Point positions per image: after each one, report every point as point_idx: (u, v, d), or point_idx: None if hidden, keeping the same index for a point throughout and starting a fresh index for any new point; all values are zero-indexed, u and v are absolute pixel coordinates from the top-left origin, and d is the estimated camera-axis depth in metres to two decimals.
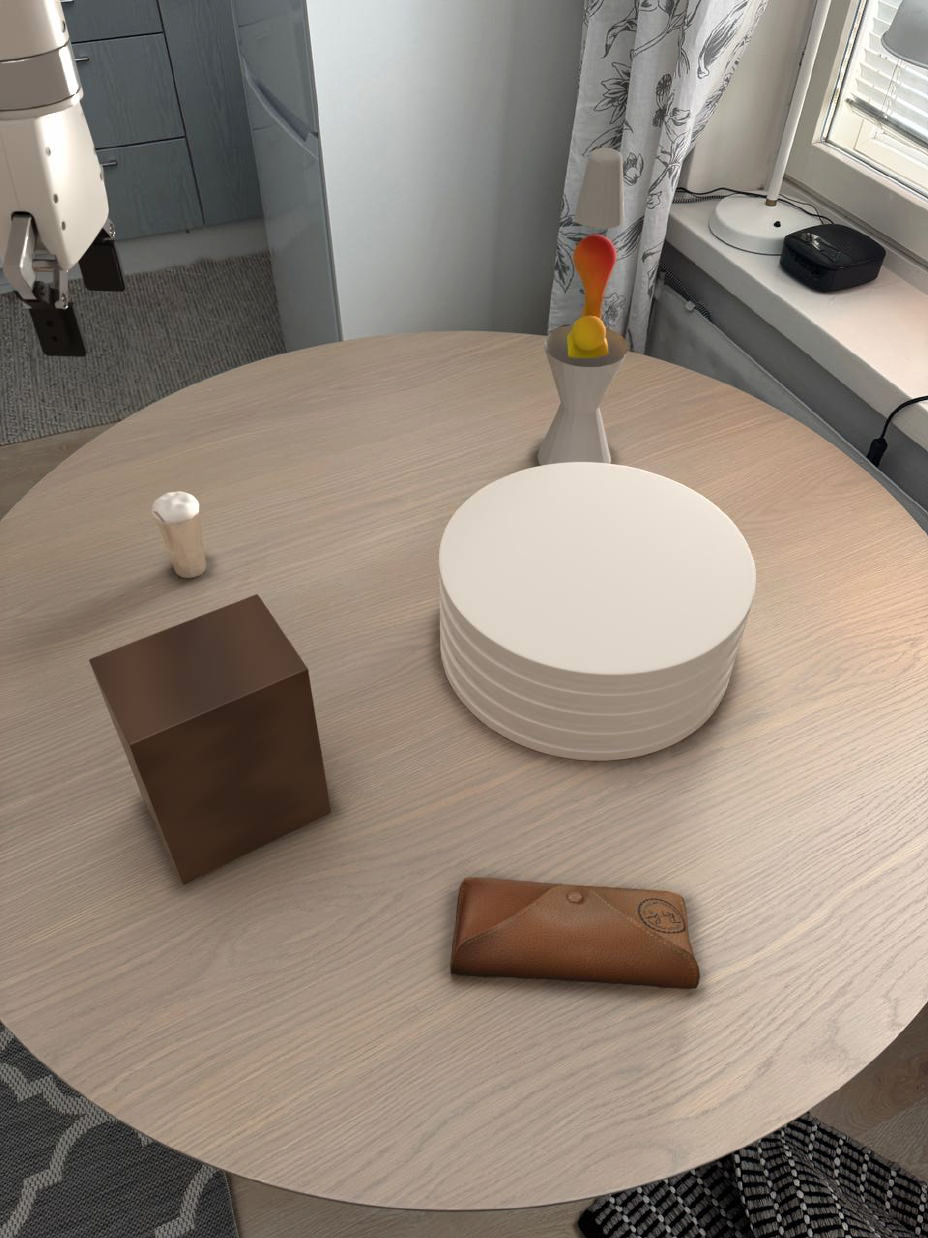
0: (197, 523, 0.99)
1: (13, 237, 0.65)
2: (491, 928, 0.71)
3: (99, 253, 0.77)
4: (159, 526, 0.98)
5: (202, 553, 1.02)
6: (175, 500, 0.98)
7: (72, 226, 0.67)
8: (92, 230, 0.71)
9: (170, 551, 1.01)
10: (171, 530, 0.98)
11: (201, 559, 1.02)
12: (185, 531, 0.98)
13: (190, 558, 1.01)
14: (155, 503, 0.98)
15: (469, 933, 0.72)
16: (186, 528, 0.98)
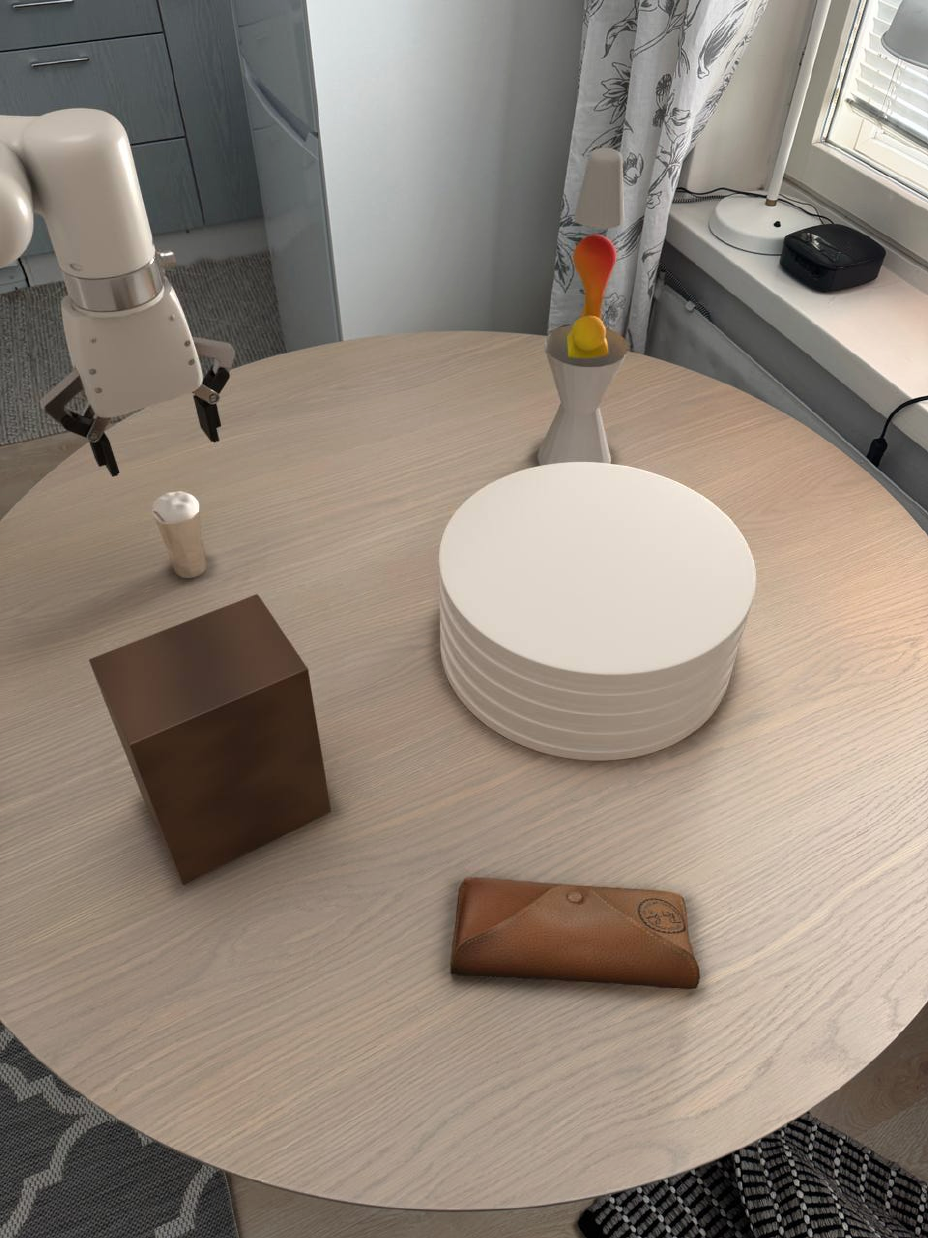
0: (197, 523, 0.99)
1: (61, 383, 0.84)
2: (491, 928, 0.71)
3: (201, 409, 0.92)
4: (159, 526, 0.98)
5: (202, 553, 1.02)
6: (175, 500, 0.98)
7: (112, 392, 0.85)
8: (153, 397, 0.87)
9: (170, 551, 1.01)
10: (171, 530, 0.98)
11: (201, 559, 1.02)
12: (185, 531, 0.98)
13: (190, 558, 1.01)
14: (155, 503, 0.98)
15: (468, 933, 0.72)
16: (186, 528, 0.98)
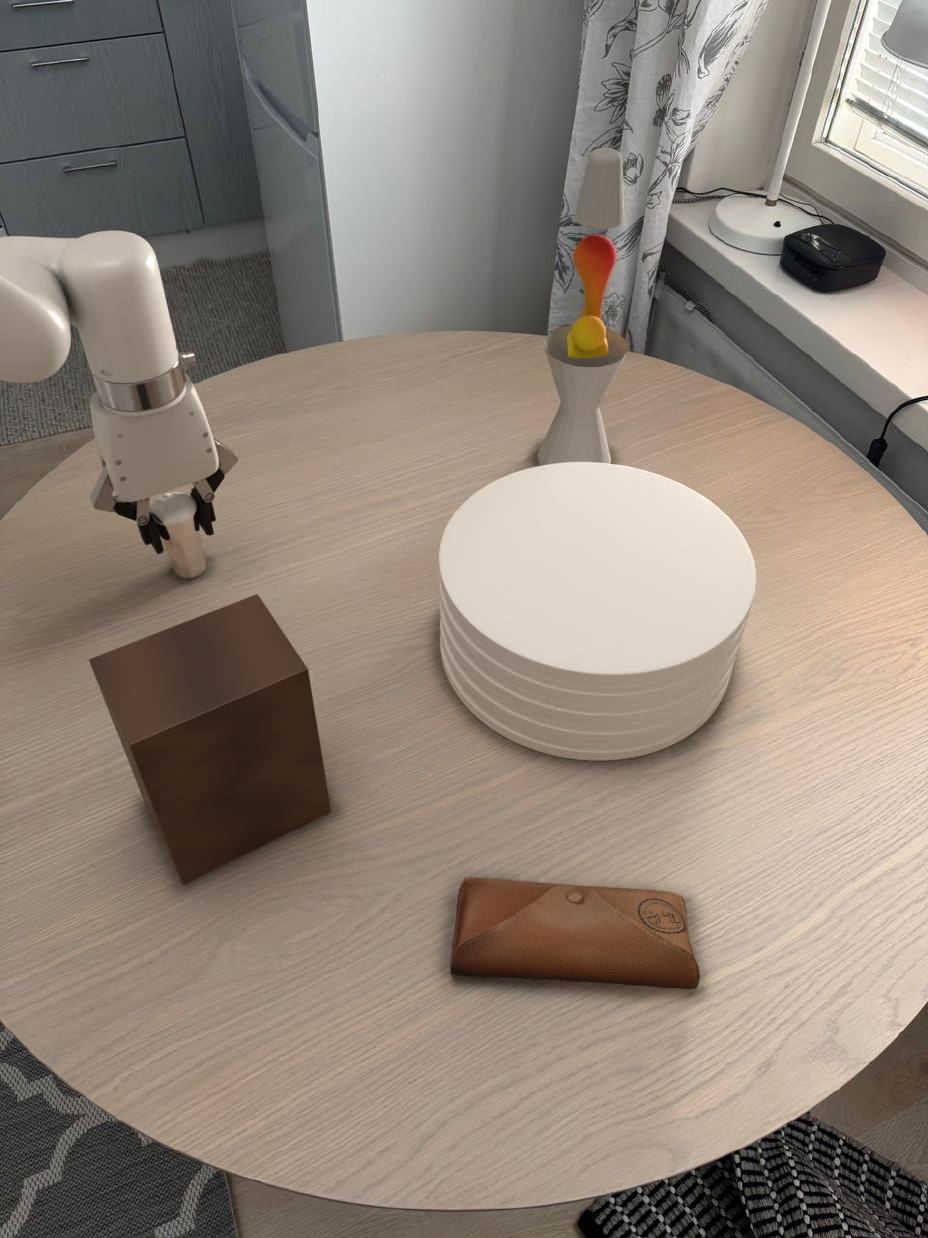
0: (195, 523, 0.99)
1: (99, 479, 0.92)
2: (491, 928, 0.71)
3: (197, 506, 0.99)
4: None
5: (201, 553, 1.02)
6: (173, 501, 0.98)
7: (136, 480, 0.91)
8: (173, 483, 0.94)
9: (169, 551, 1.01)
10: (169, 531, 0.98)
11: (200, 559, 1.02)
12: (183, 531, 0.98)
13: (189, 558, 1.01)
14: (153, 504, 0.98)
15: (468, 933, 0.72)
16: (184, 528, 0.98)
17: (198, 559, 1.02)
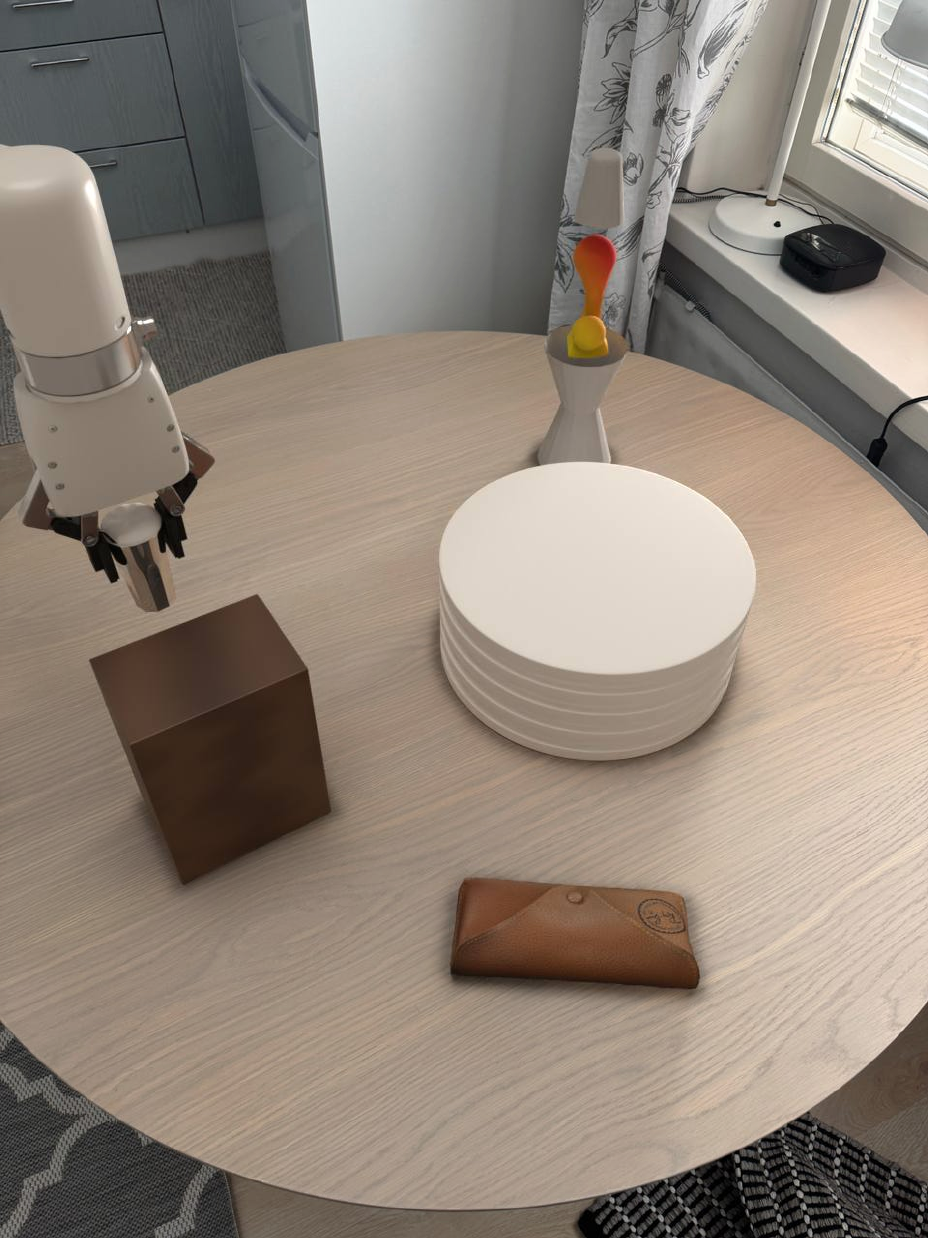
0: (160, 543, 0.77)
1: (30, 487, 0.70)
2: (491, 928, 0.71)
3: (162, 521, 0.77)
4: (110, 548, 0.76)
5: (169, 580, 0.80)
6: (130, 514, 0.75)
7: (77, 488, 0.69)
8: (128, 492, 0.71)
9: (127, 579, 0.78)
10: (126, 554, 0.75)
11: (168, 588, 0.80)
12: (144, 554, 0.76)
13: (153, 588, 0.79)
14: (104, 519, 0.75)
15: (468, 933, 0.72)
16: (145, 550, 0.76)
17: (165, 588, 0.80)
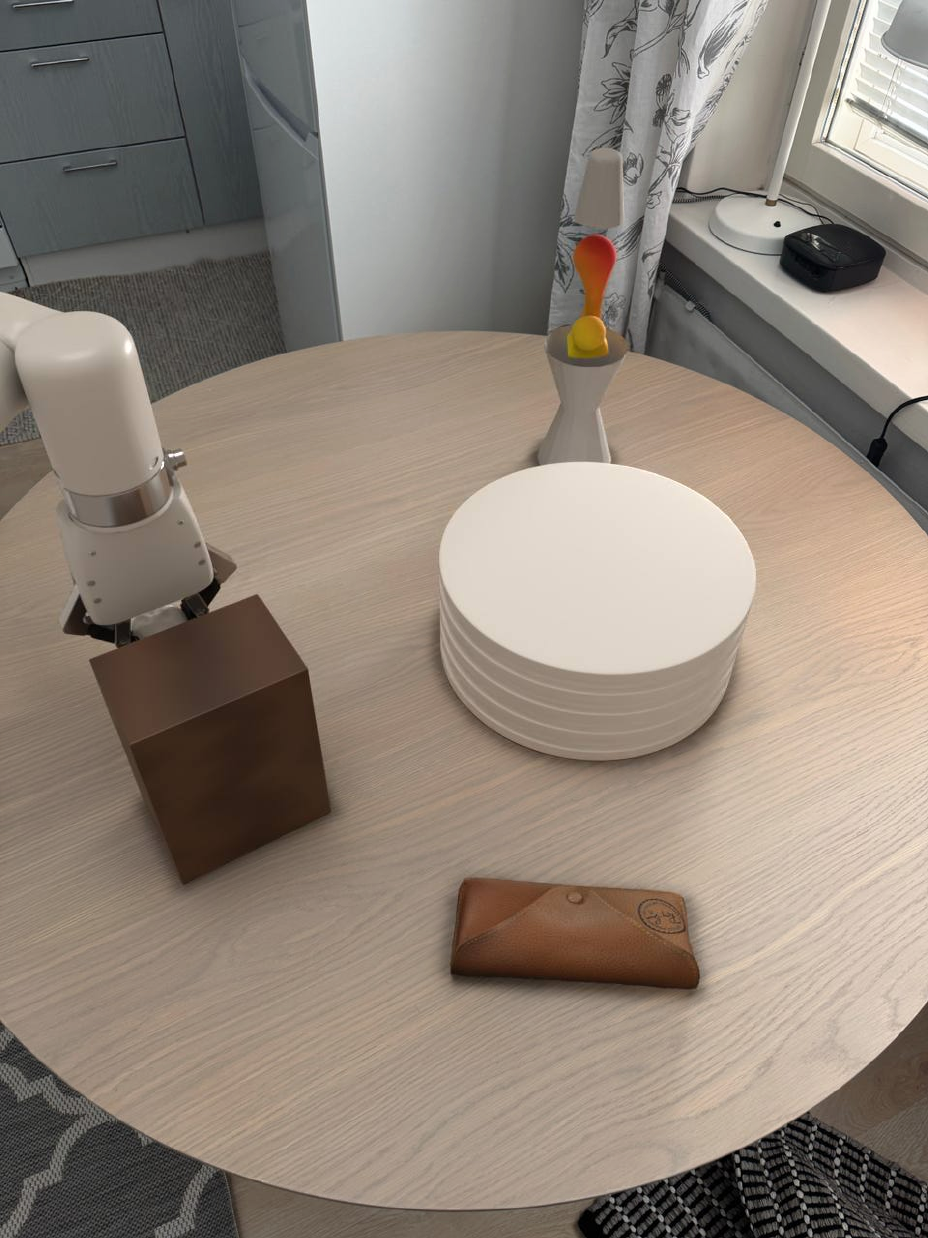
0: None
1: (70, 599, 0.76)
2: (491, 928, 0.71)
3: None
4: None
5: None
6: (159, 617, 0.82)
7: (113, 601, 0.76)
8: (159, 601, 0.78)
9: None
10: None
11: None
12: None
13: None
14: (135, 621, 0.82)
15: (468, 934, 0.72)
16: None
17: None
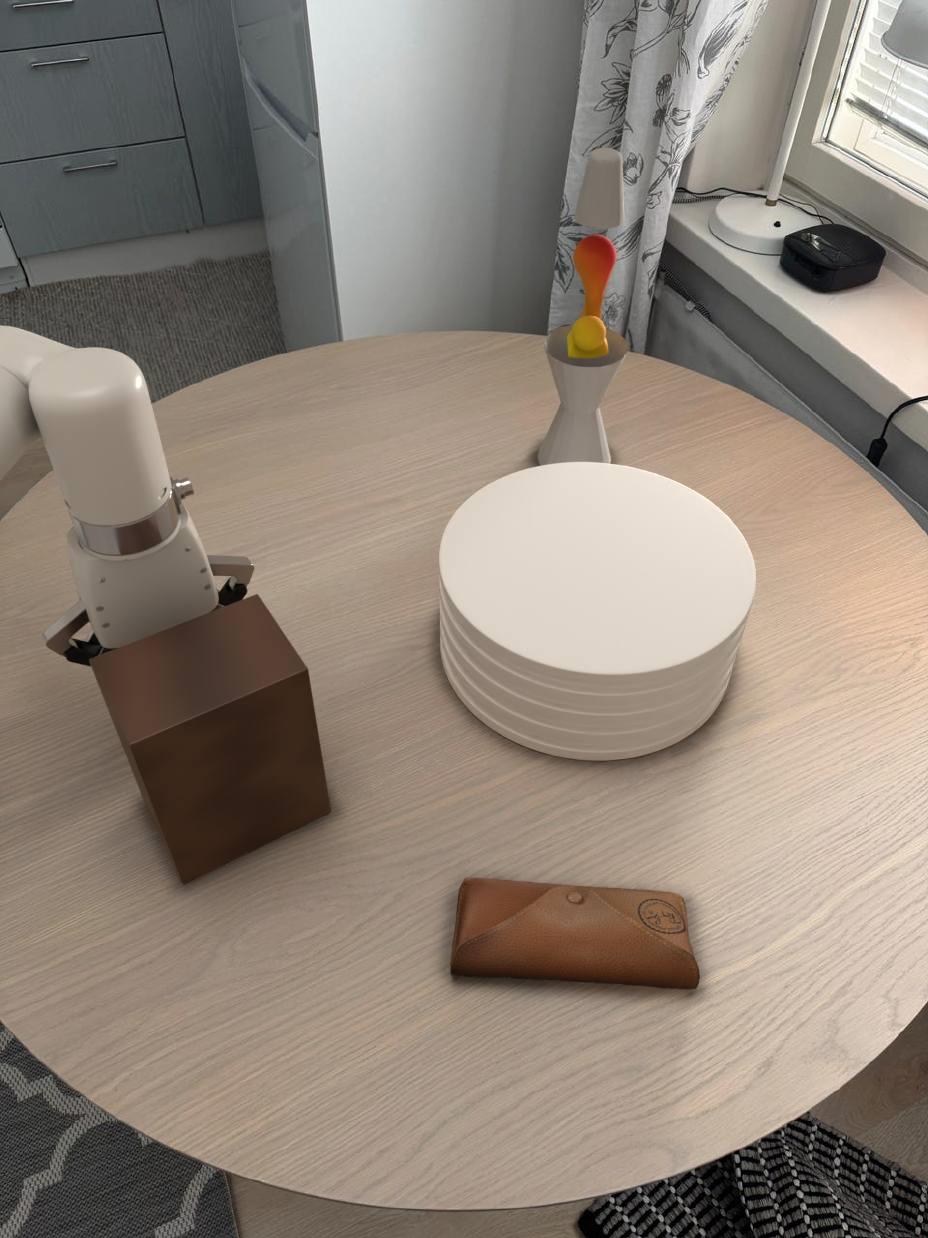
0: None
1: (65, 615, 0.77)
2: (491, 929, 0.71)
3: None
4: None
5: None
6: None
7: (121, 626, 0.78)
8: (165, 625, 0.80)
9: None
10: None
11: None
12: None
13: None
14: None
15: (468, 934, 0.72)
16: None
17: None
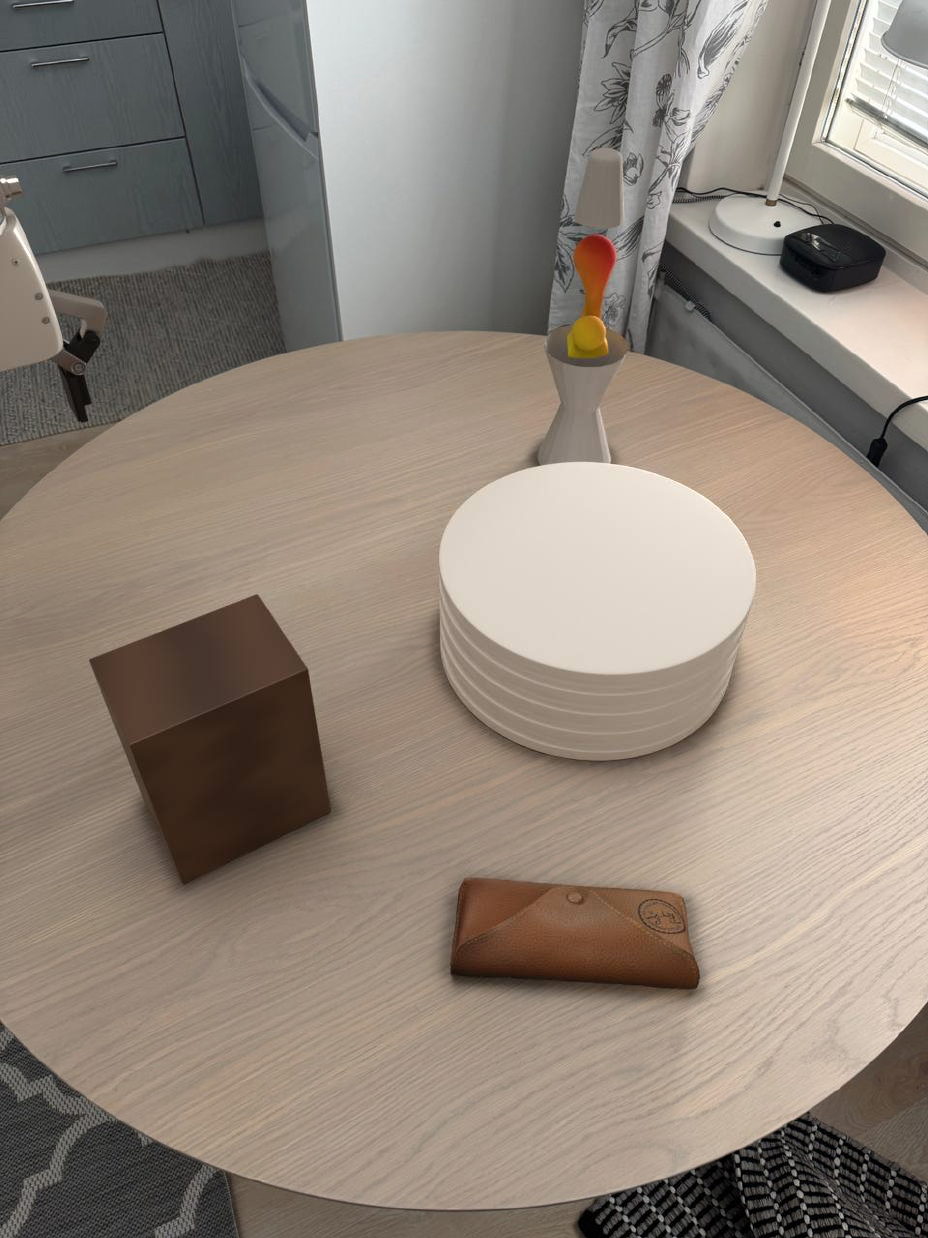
0: None
1: None
2: (491, 929, 0.71)
3: (64, 381, 0.75)
4: None
5: None
6: None
7: None
8: None
9: None
10: None
11: None
12: None
13: None
14: None
15: (468, 934, 0.72)
16: None
17: None
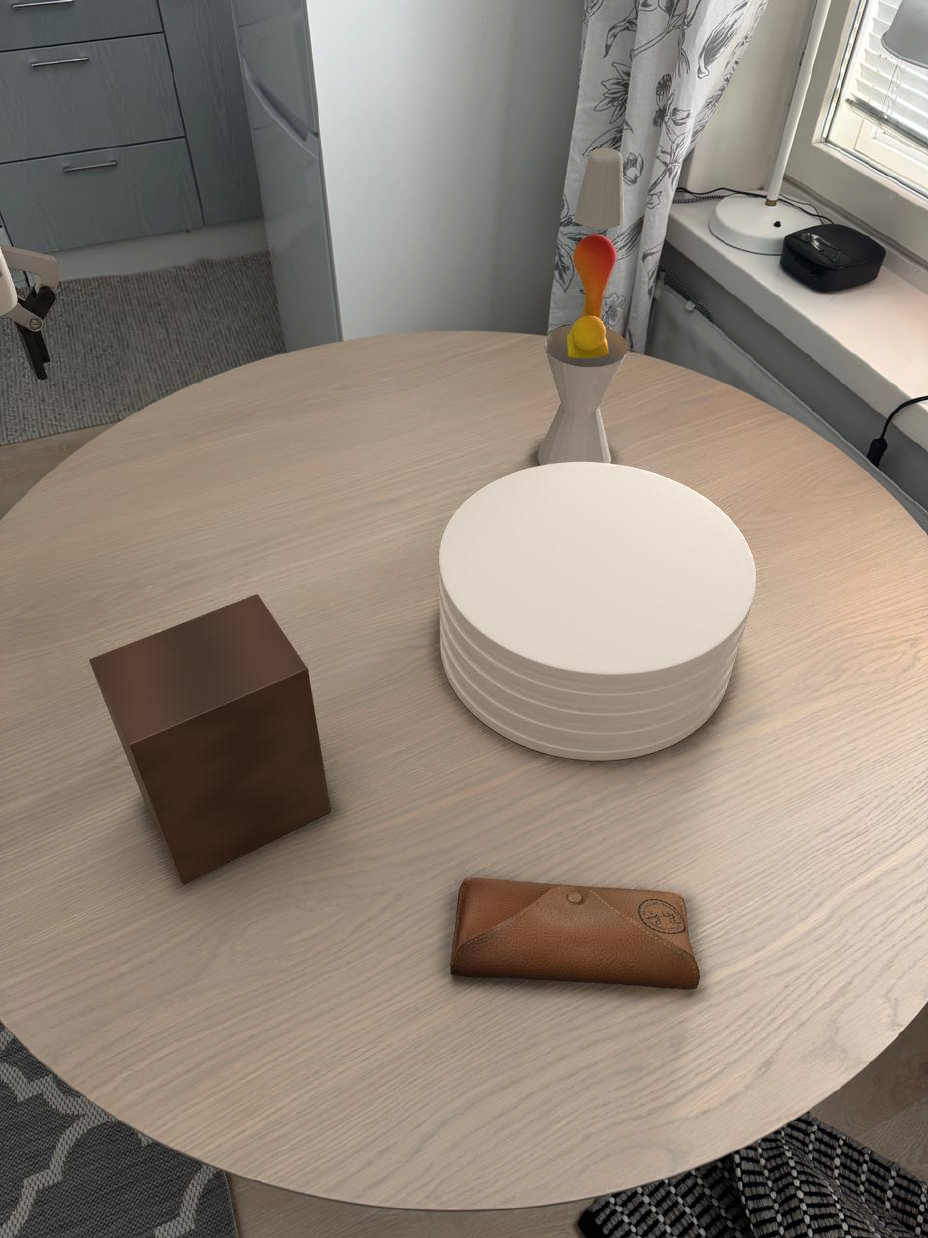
0: None
1: None
2: (491, 929, 0.71)
3: (22, 338, 0.76)
4: None
5: None
6: None
7: None
8: None
9: None
10: None
11: None
12: None
13: None
14: None
15: (468, 934, 0.72)
16: None
17: None
